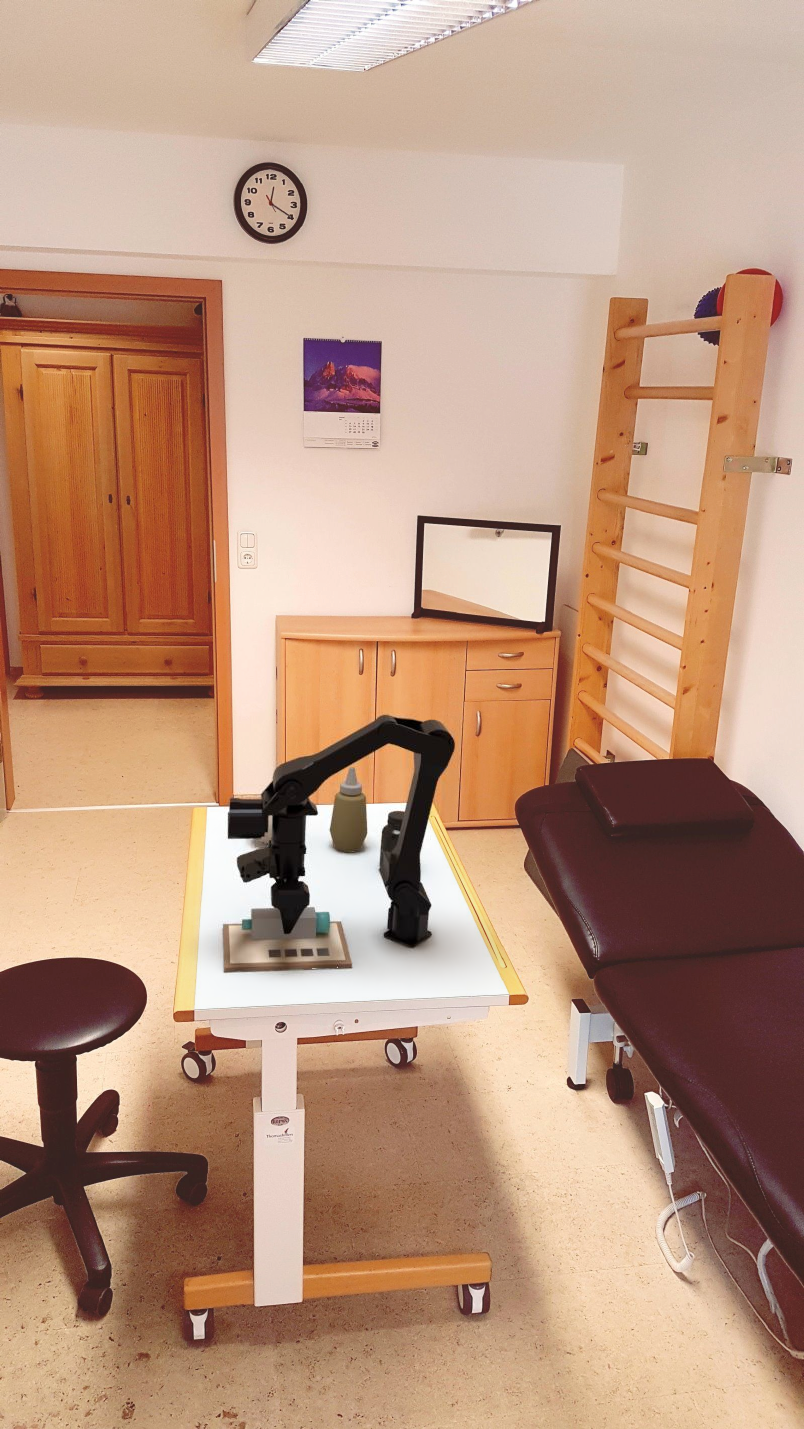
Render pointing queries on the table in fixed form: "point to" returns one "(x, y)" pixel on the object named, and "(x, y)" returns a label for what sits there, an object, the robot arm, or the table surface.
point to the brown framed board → (284, 951)
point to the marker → (270, 925)
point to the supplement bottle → (391, 833)
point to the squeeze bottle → (349, 815)
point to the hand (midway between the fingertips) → (285, 920)
